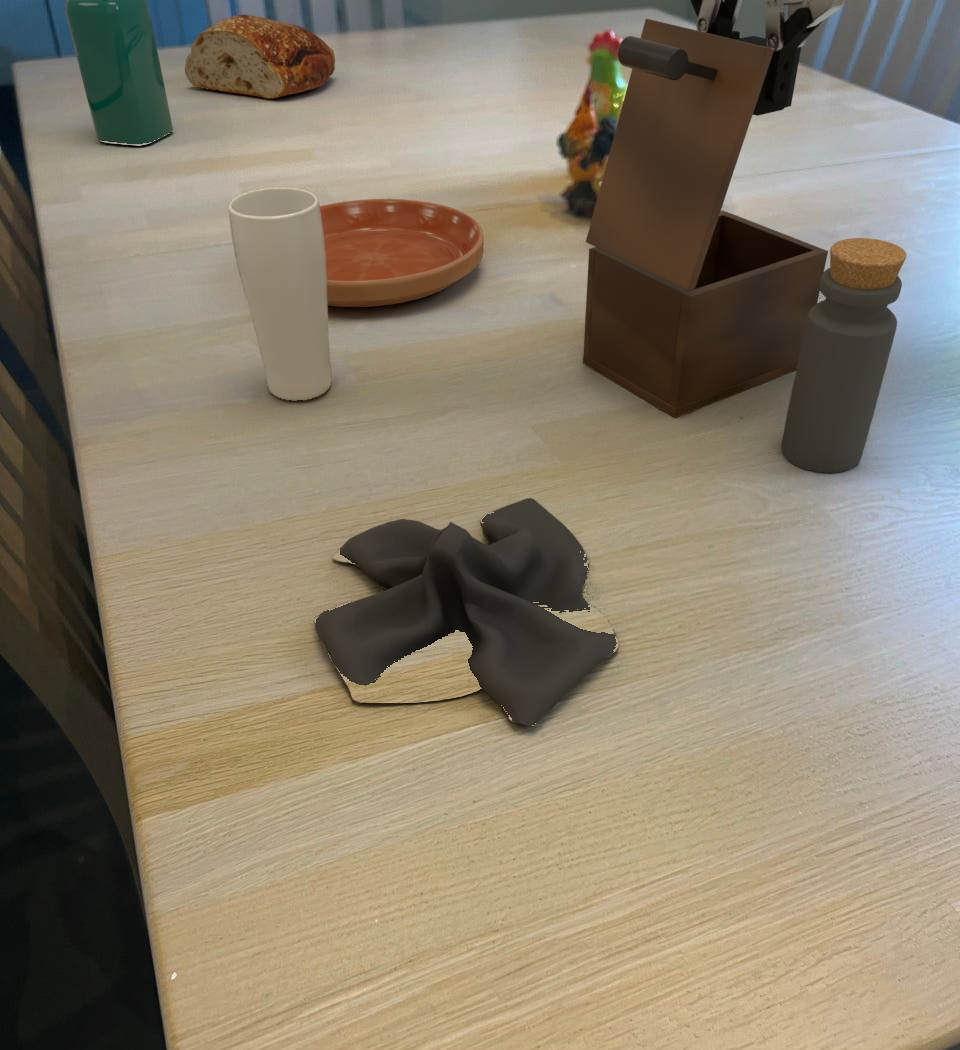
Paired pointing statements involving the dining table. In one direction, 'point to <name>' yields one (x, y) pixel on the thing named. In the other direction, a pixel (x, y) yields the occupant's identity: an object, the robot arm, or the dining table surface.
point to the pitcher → (120, 69)
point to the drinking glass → (285, 286)
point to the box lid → (675, 147)
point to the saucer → (396, 250)
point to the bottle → (843, 356)
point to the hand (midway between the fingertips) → (740, 100)
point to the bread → (259, 58)
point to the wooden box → (703, 317)
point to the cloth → (473, 605)
